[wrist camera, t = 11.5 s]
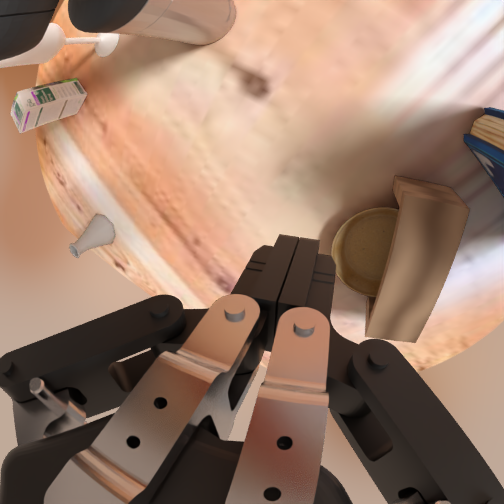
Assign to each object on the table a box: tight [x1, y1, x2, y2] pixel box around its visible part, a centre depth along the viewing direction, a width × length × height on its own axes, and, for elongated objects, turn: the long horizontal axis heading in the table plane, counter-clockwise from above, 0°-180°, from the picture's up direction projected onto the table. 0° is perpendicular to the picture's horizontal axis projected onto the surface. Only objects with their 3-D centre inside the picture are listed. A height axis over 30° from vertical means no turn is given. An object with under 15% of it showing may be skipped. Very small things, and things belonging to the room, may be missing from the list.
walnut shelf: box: [365, 176, 470, 343], centre depth 33 cm, size 8×22×8 cm, turn 2°
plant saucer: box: [331, 207, 399, 297], centre depth 37 cm, size 15×15×3 cm
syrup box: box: [11, 78, 87, 133], centre depth 33 cm, size 6×6×14 cm
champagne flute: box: [0, 23, 119, 68], centre depth 22 cm, size 7×7×24 cm
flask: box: [69, 214, 115, 258], centre depth 51 cm, size 7×7×10 cm
